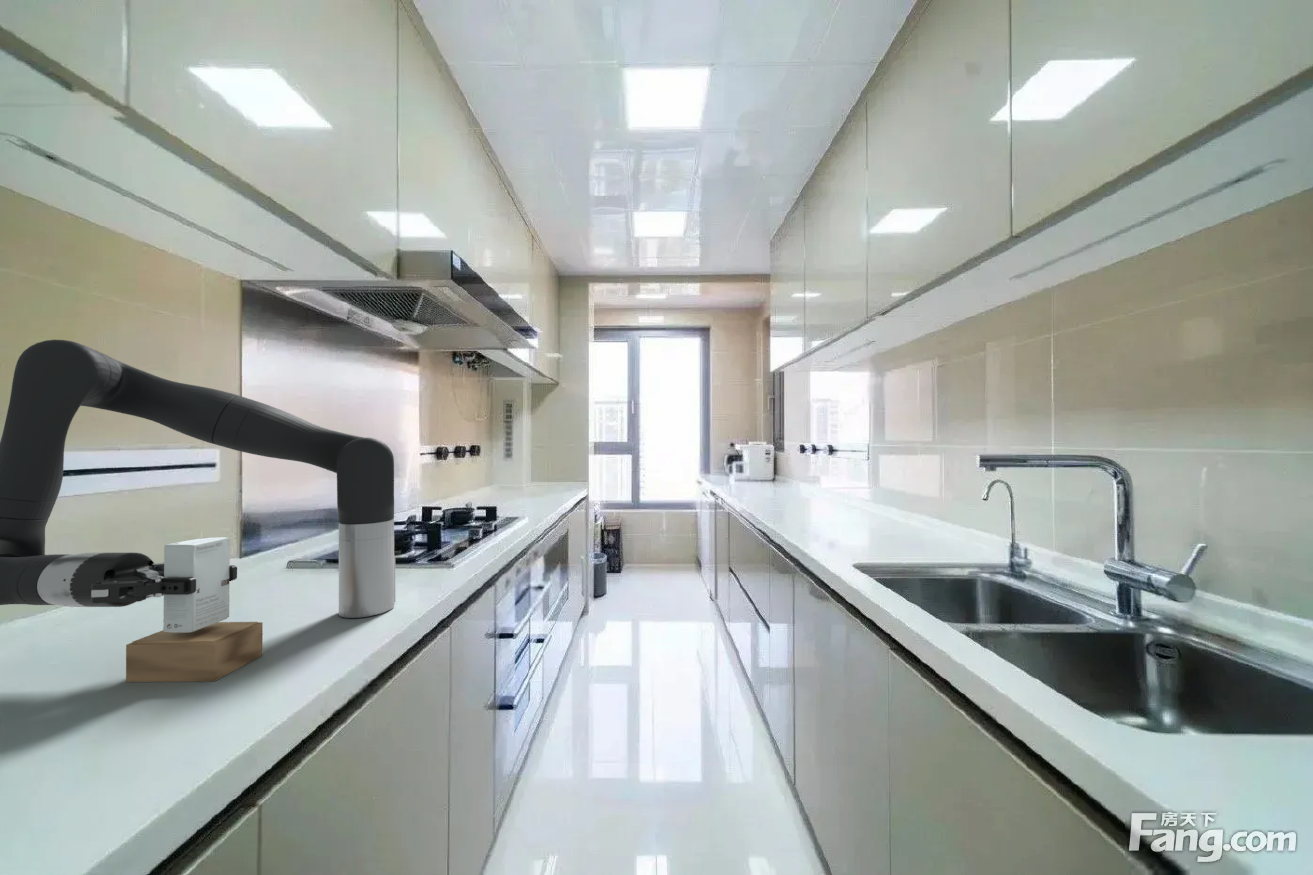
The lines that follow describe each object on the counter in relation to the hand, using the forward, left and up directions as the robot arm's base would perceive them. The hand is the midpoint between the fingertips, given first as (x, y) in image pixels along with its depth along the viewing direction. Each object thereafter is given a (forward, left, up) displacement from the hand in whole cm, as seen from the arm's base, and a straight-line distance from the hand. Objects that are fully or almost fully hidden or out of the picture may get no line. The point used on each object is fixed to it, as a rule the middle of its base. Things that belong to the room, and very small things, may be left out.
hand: (215, 579), depth 70 cm
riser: (0, -2, -13) cm, 13 cm away
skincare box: (0, -3, -7) cm, 7 cm away
